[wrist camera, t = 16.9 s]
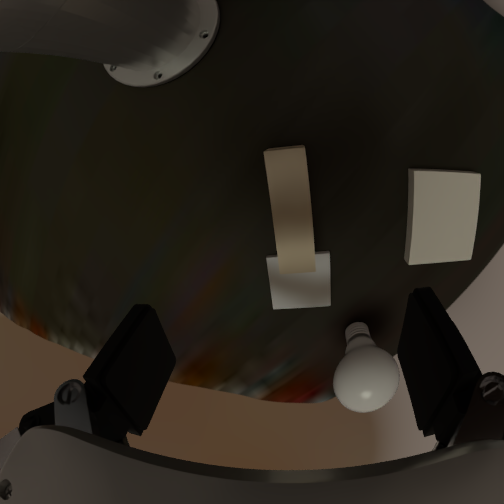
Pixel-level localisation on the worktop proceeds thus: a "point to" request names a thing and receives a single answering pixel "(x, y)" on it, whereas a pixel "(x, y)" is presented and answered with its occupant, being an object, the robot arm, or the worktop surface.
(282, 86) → the worktop surface
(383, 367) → the lightbulb
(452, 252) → the tile
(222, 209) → the worktop surface
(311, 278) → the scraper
